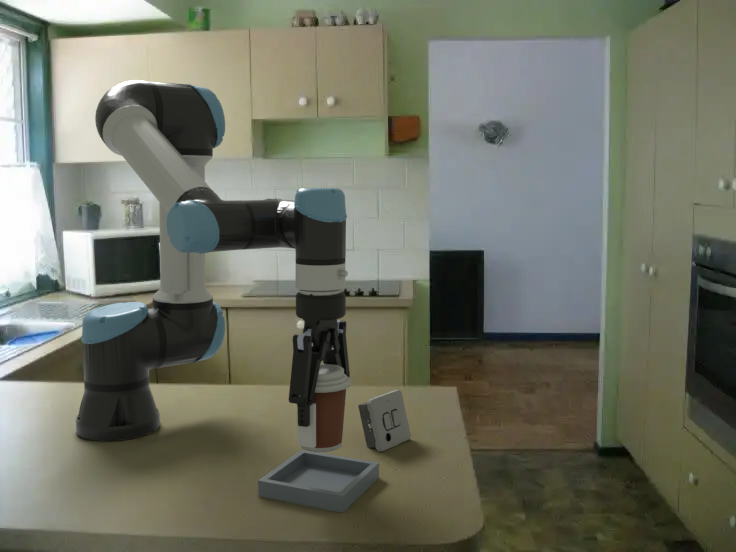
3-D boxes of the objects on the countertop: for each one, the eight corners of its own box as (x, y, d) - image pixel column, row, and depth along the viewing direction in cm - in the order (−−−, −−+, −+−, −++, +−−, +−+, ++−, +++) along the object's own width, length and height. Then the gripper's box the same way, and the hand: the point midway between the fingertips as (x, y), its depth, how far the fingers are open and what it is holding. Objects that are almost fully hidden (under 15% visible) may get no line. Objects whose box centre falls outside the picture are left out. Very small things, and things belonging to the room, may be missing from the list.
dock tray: (258, 496, 115) (258, 480, 114) (301, 464, 127) (301, 449, 127) (342, 512, 109) (343, 496, 109) (379, 477, 122) (379, 462, 122)
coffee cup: (317, 431, 124) (316, 359, 122) (362, 442, 118) (362, 367, 117) (279, 447, 116) (278, 370, 115) (326, 459, 111) (325, 379, 110)
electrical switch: (380, 454, 133) (377, 401, 132) (358, 449, 136) (354, 398, 135) (412, 439, 140) (409, 390, 139) (389, 436, 143) (386, 387, 143)
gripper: (310, 303, 103) (311, 463, 106) (371, 283, 123) (370, 418, 126) (262, 300, 106) (264, 455, 109) (329, 280, 126) (329, 412, 129)
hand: (321, 435), depth 117 cm, fingers closed on coffee cup, 9 cm apart
